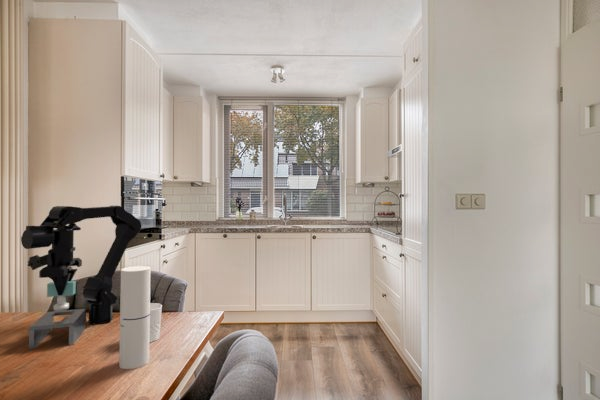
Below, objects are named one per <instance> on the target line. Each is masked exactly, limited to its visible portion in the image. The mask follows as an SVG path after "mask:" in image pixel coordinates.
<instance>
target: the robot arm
mask: <svg viewBox="0 0 600 400" xmlns="http://www.w3.org/2000/svg"><path fill="white" fill-rule="evenodd" d="M97 218H98V219H101V218H110V219H111V221H112V223H113V224H114V225H115V230H114V232H115V233H114V234H115V238H114V240H113V243H112V244H111V246H110V248H109V250H108V252H107V254H106V257H105V258H104V261H103V262H102V264H101V266H100V268H99V271H98V272H97V274H96V275H94V276H93V277H91V276H89V277H88V278H87V280H86V282H85V284H84V285H83V287H82V290H83V291H82V295H83V298H84V299H85V300H86V303H87V304H88V305H90V308H89V309H88V325H96V324H107V323H111V322H112V320H113V318H114V315H113V305H115V304H116V303H117V300H118V296H116V295H115V294H114V293H113V292H112V289H113V277H114V275H115V273H116V271H117V269H118V266H119V264H120V262H121V260H122V257H123V256H124V253H125V252H126V250H127V248H128V246H129V243H130V242H131V241H132V240H133V239H135V237H137V235H138V234H139V233H140V231H141V229H142V227H143V226H142V222H141V221H140V219H139V218H137V217H135V215H133V214H131V213H129V211H127V210H126V209H125V208H124V207H122V206H120V205H109V206H93V207H78V206H66V205H65V206H64V205H63V206H61V205H56V206H53V207H51V209H50V210H49V212H48V215H47V216H46V218H45V219H44V220H43V221H42V223H40V224H39V225H26V227H25V230H24V231H23V232H22V235H21V238H20V240H21V241H20V242H21V245H22V247H23V248H24V249H25V250H28V249H29V250H30V249H41V248H48V247H50V246H51V248H50V249H49V250H48V252H47V254H44V255H42V256H39V255H38V254H36V255H32V256H30V257H29V258H28V261H27V263H28V264H27V266H28V267H29V268H31V271H34V270H37V269H39V268H41V267H42V268H41V269H40V270H39V271H38V272H39V273H38V274H39V275H38V278H41V279H42V278H49V279H51V280H52V282H54V285H55V287H56V290H57V293H58V295H63V292H64V290H65V287H66V285H67V282H68V281H73V278H74V276H75V275H76V273H77V271H78V268H81V267H82V265H83V260H82V259H81V258H80V257H74V251H76V247H75V246H74V237H75V236H74V235H75V231H80V230H81V227H80V226H78V225H77V224H76V223H80V222H82V221H84V220H88V219H89V220H90V219H97ZM73 267H77V268H73Z"/></svg>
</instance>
